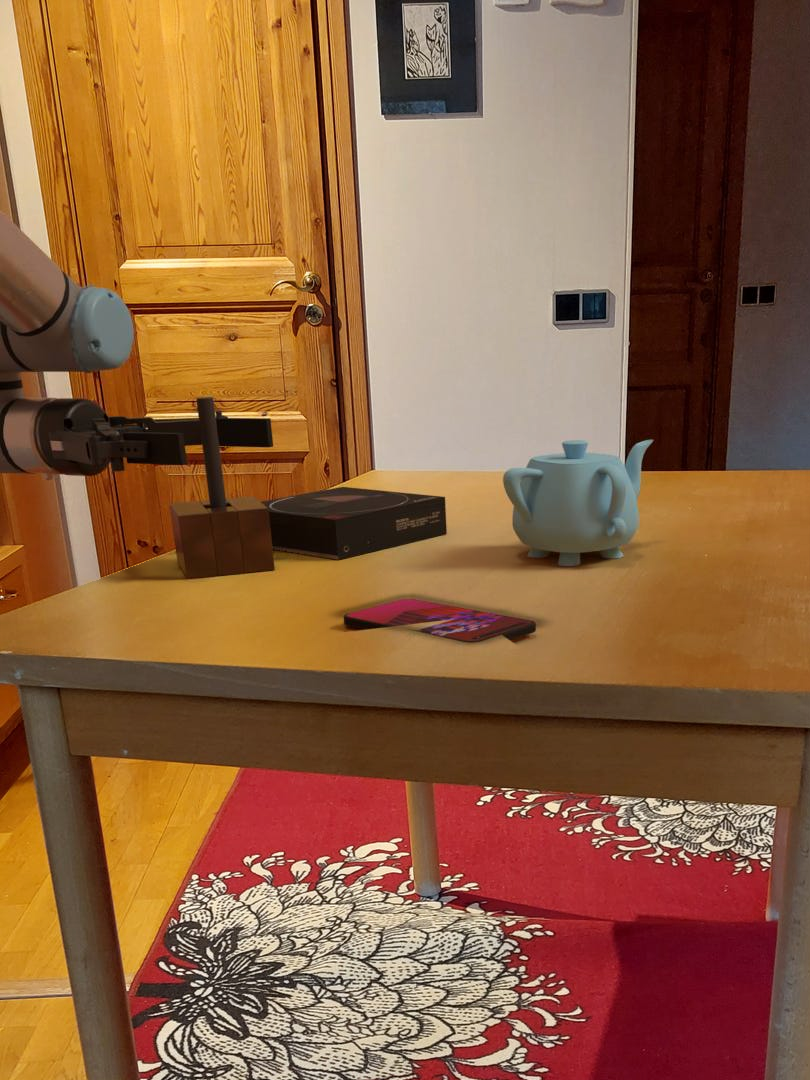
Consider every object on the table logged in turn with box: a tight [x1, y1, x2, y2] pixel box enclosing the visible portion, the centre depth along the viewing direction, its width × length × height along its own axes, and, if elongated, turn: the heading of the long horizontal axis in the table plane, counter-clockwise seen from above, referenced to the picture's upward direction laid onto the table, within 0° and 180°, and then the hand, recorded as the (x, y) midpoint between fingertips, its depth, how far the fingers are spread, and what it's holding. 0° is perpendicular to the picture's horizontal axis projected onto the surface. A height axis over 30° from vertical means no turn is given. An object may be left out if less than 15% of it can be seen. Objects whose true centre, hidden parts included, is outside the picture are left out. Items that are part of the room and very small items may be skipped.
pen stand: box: [168, 495, 276, 580], centre depth 117 cm, size 9×9×6 cm
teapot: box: [502, 439, 654, 567], centre depth 116 cm, size 13×14×11 cm
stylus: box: [195, 396, 227, 508], centre depth 115 cm, size 2×2×16 cm
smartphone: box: [343, 598, 537, 644], centre depth 92 cm, size 8×1×15 cm
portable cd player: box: [260, 486, 448, 561], centre depth 129 cm, size 16×17×4 cm
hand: (228, 440), depth 112 cm, fingers open, 13 cm apart
